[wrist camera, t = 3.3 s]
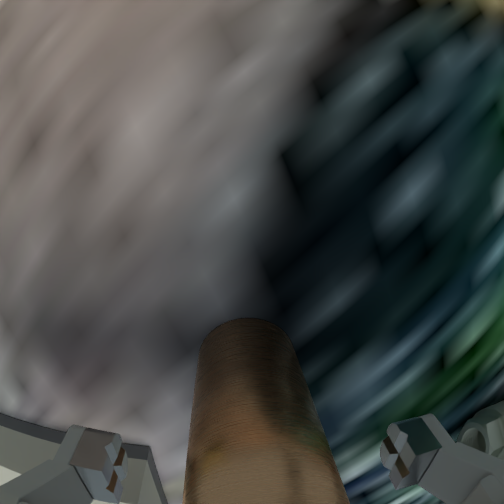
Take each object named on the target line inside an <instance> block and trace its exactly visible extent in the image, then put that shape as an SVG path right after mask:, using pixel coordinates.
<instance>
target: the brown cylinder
mask: <svg viewBox="0 0 504 504" xmlns="http://www.w3.org/2000/svg"><path fill="white" fill-rule="evenodd" d="M183 504H350V503H349V500H348V497H347V494H346V492H345V489H344V486H343V483H342V480H341V478H340V475H339V472H338V469H337V466H336V464H335V461H334V458H333V455H332V452H331V450H330V447H329V444H328V441H327V439H326V436H325V433H324V430H323V427H322V425H321V422H320V419H319V416H318V414H317V411H316V408H315V405H314V403H313V400H312V397H311V394H310V392H309V389H308V386H307V383H306V381H305V378H304V375H303V372H302V370H301V367H300V364H299V361H298V359H297V356H296V353H295V350H294V348H293V345H292V343H291V341H290V339H289V337H288V336H287V334H286V333H285V332H284V331H283V330H282V329H280V328H279V327H278V326H276V325H274V324H272V323H270V322H268V321H265V320H261V319H256V318H241V319H235V320H231V321H228V322H226V323H224V324H221V325H220V326H218V327H216V328H215V329H214V330H213V331H211V332H210V333H209V334H208V336H207V337H206V338H205V340H204V341H203V343H202V345H201V348H200V352H199V358H198V366H197V373H196V381H195V389H194V398H193V406H192V414H191V423H190V432H189V441H188V451H187V461H186V471H185V482H184V493H183Z"/></svg>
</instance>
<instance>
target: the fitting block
mask: <svg viewBox="0 0 504 504" xmlns="http://www.w3.org/2000/svg"><path fill="white" fill-rule="evenodd" d="M65 435H66V433H65V432H61V431H57V430H53V429H49V428H45V427H41V426H38V425H34V424H31V423H27V422H24V421H21V420H18V419H15V418H12V417H9V416H6V415H3V414H0V486H1V485H3V484H5V483H7V482H9V481H10V480H12V479H14V478H16V477H18V476H20V475H22V474H23V473H25V472H27V471H29V470H31V469H33V468H34V467H36V466H38V465H40V464H42V463H43V462H45V461H47V460H49V459H50V460H53V459H54V457H55V455H56V453H57V451H58V449H59V447H60V445H61V443H62V441H63V439H64V437H65ZM121 447H122V448H123V449H124V450H125V451H126V454H127V458H128V471H127V476H126V478H125V479H123V480H122V481H121V484H122V487H123V491H122V495H121V499H120V503H119V504H168V503H167V501H166V498H165V495H164V492H163V489H162V486H161V483H160V479H159V476H158V473H157V470H156V466H155V463H154V460H153V456H152V452H151V449H150V447H147V446H138V445H130V444H123V443H122V444H121ZM91 504H114V503H108V502H103V501H98V500H93V502H92V503H91Z"/></svg>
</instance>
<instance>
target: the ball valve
mask: <svg viewBox="0 0 504 504" xmlns="http://www.w3.org/2000/svg"><path fill="white" fill-rule="evenodd" d="M457 442H460V443H463V444H465V445H467V446H470V447H472V448H475V449H477V450H479V451H482V452H484V453H487V454H489V455H492V456H494V457H497V458H500V459H502V460H504V400H503V401H501V402H499V403H496V404H494V405H492V406H489V407H487V408H484V409H482V410H480V411H478V412H477V413H476V414H475V415H474V416H473V418H472V419H469V420H467V422H466V423H465V425H464V426H463V428H462V430H461V431H460V433H459V436H458V438H457Z"/></svg>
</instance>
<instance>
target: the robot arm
mask: <svg viewBox="0 0 504 504" xmlns="http://www.w3.org/2000/svg"><path fill="white" fill-rule="evenodd" d="M387 434H388V435H389V436H388V437H386V438H385V439H384V440H383V441H382V444H381V447H380V457H381V461H382V463H383V465H384V467H386V468H388V469H390V473H389V477H390V479H391V481H392V483H393V485H394V487H395V489H396V490H398V489H401V488H405V487H408V486H411V485H415V484H418V485H419V486H421V487H422V488H424V489H425V490H427V491H428V492H430V493H431V494H433V495H434V496H436V497H437V498H439V499H440V500H442V501H443V502H445V503H447V504H504V460H502V459H500V458H497V457H494V456H492V455H489V454H487V453H484V452H482V451H479V450H477V449H475V448H472V447H470V446H467V445H465V444H463V443H460V442H457V443H455V442H454V440H453V439H452V438H451V437H450V435H449V434H448V433H447V431H446V430H445V429H444V427H443V426H442V425H441V423H440V422H439V421H438V420H437V418H436V417H435V416H434V415H433V414H431V413H430V414H427V415H423V416H419V417H415V418H411V419H407V420H403V421H399V422H395V423H392V424H391V425H390V426H389V427H388V429H387ZM121 444H122V439H121V437H120V434H118V433H113V432H107V431H102V430H97V429H92V428H87V427H82V426H77V425H72V426H71V427H69V429H68V431H67V433H66V435H65V437H64V439H63V441H62V443H61V445H60V447H59V449H58V451H57V453H56V455H55V457H54V459H53V460H50V459H49V460H47V461H45V462H43V463H42V464H40V465H38V466H36V467H34V468H33V469H31V470H29V471H27V472H25V473H23V474H22V475H20V476H18V477H16V478H14V479H12V480H10V481H9V482H7V483H5V484H3V485H1V486H0V504H91V503H92V502H93V500H98V501H103V502H108V503H114V504H119V503H120V499H121V495H122V491H123V487H122V484H121V481H122V480H123V479H125V478H126V476H127V471H128V458H127V454H126V451H125V450H124V449H123V448H122V447H121Z"/></svg>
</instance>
